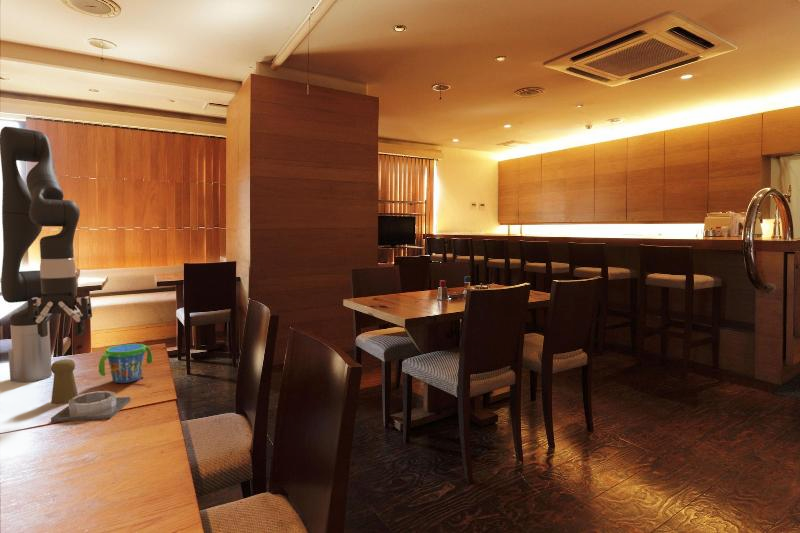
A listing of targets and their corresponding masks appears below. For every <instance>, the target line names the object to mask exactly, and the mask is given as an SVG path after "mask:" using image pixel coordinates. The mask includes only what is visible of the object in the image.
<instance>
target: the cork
mask: <svg viewBox="0 0 800 533" xmlns="http://www.w3.org/2000/svg"><path fill="white" fill-rule="evenodd" d="M75 367H76V362H75V361H74V360H72V359H69V358H67V359H59V360H56V361H54V362H53V363H51V370H52V374H53V380H52V382H53V383H52V392H51V399H50V400H51V401H50V402H51V404H52V405H64V404H69V400H70V399H72V398H73V397H75V396H78V395H79V393H78V388H77V384H76V380H75V374H74V370H75Z"/></svg>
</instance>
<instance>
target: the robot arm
mask: <svg viewBox="0 0 800 533" xmlns="http://www.w3.org/2000/svg"><path fill="white" fill-rule="evenodd" d="M17 161H19V162H28V163H29V162H30V163H36V164H35V165H34V166H32V168H31V169H30V170H29V171H28V173H27V174H26V180H25V181H26V182H25V181H24V179H23V178H22V176H21V174H20V171H19V169H18V168H19V167H18V164H17ZM0 165H1V176H2V177H1V178H2V204H1V221H2V224H1V225H2V242H3V245H2V247H3V248H2V250H3V251H2V253H3V254H2V266H1V274H0V276H1V279H0V292H1V296H2V298H3V300H4V301H5V302H7V303H11V304H12V303H13V304H14V303H24V302H27V307H26V308H24V309H22V310H20V311H18V312H15V313H13V314H12V315H11V316H10V319H9V323H10V337H11V339H10V340H11V349H9V350H8V366H9V378H10V382H17V383H26V382H27V383H28V382H35V381H40V380H44V379H47V378H49V377H51V376H52V375H53V372H52V370H51V366H52V354H51V353H52V352H51V337H50V336H51V335H50V334H51V333H50V319H49V317H50V316H51V315H56V314H60V315H63V314H64V315H65V314H67V315H68V316H69V317H71V318H72V319H73V320H74V321H75V323H74V328H75V336H77V337H79V336H82V335H83V334H84V333H85V331H86V329H85V320H88V319H91V318H92V317H93V311H92V302H91V297H90V296H89V295H87V296H83V297H78V295H77V291H78V290H77V277H76V276H77V274H76V272H77V270H76V263H75V259H74V258H75V256H74V240H75V234H76V229H77V226H78V223H79V219H80V214H81V213H80V208H79V206H78V205H77V203H76V202H75V201H73V200H70V199H69V200H68V199H64V191H63V189H62V187H61V184H60V181H59V180H58V176H57V174H56V170H55V162H54V157H53V152H52V146H51V143H50V140H49V137H48V135H46V133H45V132H42V131H40V130H38V131H37V130H33V129H27V128H20V127H14V126H4V127H2V128H1V130H0ZM43 227H62V228H61V230H60V231H59V233H56V234H51V235H47V236H46V235H45V236H42V237H41V238H40V239H39V252H40V265H39V270H23V271H20V267H21V262H22V261H23V260H22V259H23V257H24V256H25V254H26V252H27V251H28V250H29V248H30V247H31V246H32V245H33V244H34V242H35V241H36V240H37V238H38V237H39V235H40V234H41V233H42V230H43ZM77 304H79V305H80V306H81V310H80V309H79V308H78V307H77Z"/></svg>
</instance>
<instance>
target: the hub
mask: <svg viewBox="0 0 800 533" xmlns="http://www.w3.org/2000/svg"><path fill="white" fill-rule="evenodd" d="M131 401H132V400H131V397H130V396H126V397H125V396H124V397H117V394H116V392H115V391H110V390H97V391H92V392H91V391H90V392H86V393H85V392H84V393H82V394H81V393H80V394H78V396H75V397H73V398H72V399H70V400H69V403H68V405H67V406H66V407H65V408H64V409H62V410H60V411H59V412H57V413H56V414H54V415H52V417H50V422H51V423H58V422H59V423H60V422H61V423H62V422H75V421H91V420H92V421H93V420H95V421H96V420H110V419H112V418H113V417H114V416H116V414H118V413H119V411H121V410H122V409H123V408H124V407H125V406H127V404H128V403H130V402H131Z"/></svg>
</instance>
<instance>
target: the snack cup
mask: <svg viewBox="0 0 800 533" xmlns="http://www.w3.org/2000/svg"><path fill="white" fill-rule="evenodd" d="M146 352H147V354H146ZM145 354H146V355H147V356H146V363H147V364H150V365H151V364H152V363H153V353H152V351H151V348H150V347H149V346H147V345H145V344H142V343H127V344H118V345H114V346H110V347H108V348H106V349H105V353H104V354H103V355H102V356H101V357H100V360H99V363H98V373H99V375H100V376H102V377H105V376H106V371H105V370H106V369H105V367H106V365H105V364H106V362H105V361H106V360H107V359H108V363H109V364H108V365H109V369H110V374H111V379H112V381H113V382H114V383H116V384H126V383H132V382H135V381H137V380H141V377H142V374H143V367H144V356H145Z"/></svg>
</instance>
